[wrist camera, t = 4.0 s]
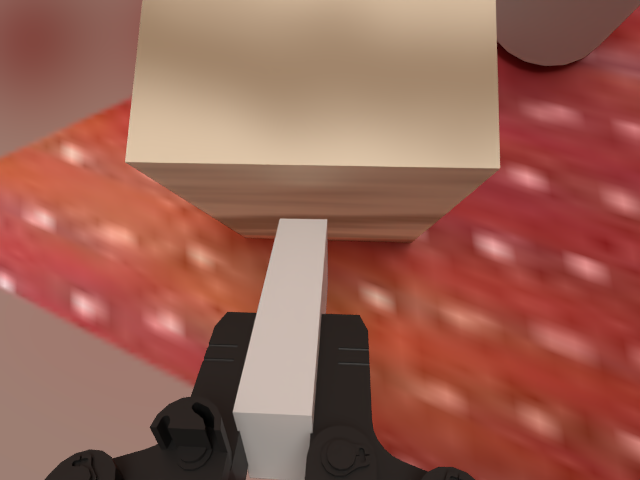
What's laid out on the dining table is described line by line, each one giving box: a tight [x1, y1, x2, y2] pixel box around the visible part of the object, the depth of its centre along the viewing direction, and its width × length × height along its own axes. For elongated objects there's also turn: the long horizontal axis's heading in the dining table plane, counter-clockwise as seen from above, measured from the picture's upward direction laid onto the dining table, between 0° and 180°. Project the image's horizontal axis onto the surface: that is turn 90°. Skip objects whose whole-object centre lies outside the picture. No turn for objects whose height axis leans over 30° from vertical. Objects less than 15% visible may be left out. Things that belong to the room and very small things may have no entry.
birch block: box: [125, 0, 500, 243], centre depth 18 cm, size 5×10×14 cm, turn 88°
